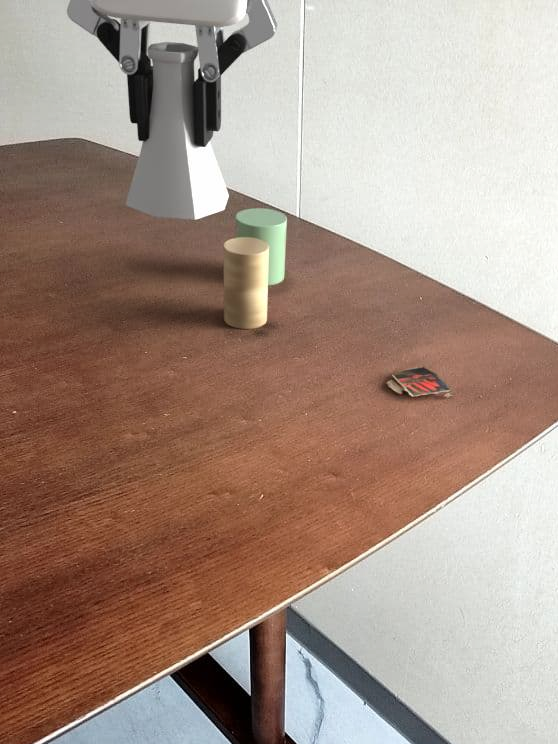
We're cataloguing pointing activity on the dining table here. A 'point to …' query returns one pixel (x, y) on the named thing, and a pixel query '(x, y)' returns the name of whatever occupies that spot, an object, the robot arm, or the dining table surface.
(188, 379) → the dining table surface
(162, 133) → the flask
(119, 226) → the dining table surface
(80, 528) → the dining table surface
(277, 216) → the mint green cylinder
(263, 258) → the birch peg
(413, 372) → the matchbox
